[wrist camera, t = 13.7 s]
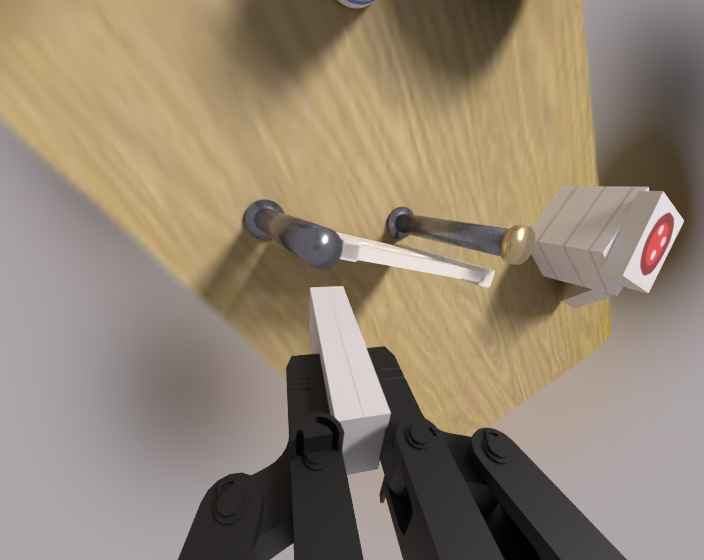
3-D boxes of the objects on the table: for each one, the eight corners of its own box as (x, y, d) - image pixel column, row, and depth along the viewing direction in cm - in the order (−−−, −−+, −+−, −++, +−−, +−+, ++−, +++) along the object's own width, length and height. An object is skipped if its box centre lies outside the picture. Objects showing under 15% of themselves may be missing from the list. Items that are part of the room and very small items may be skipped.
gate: (283, 231, 39) (339, 261, 24) (286, 216, 39) (344, 237, 24) (400, 255, 49) (489, 287, 34) (403, 244, 49) (495, 271, 34)
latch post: (382, 218, 46) (501, 240, 28) (405, 200, 47) (534, 211, 29) (394, 244, 48) (511, 279, 31) (416, 226, 50) (541, 251, 32)
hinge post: (236, 213, 36) (274, 241, 19) (269, 191, 37) (333, 199, 20) (260, 246, 39) (314, 295, 22) (291, 224, 40) (364, 255, 23)
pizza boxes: (554, 308, 79) (641, 338, 63) (513, 239, 63) (617, 258, 47) (593, 252, 80) (688, 268, 65) (563, 170, 64) (680, 166, 49)
